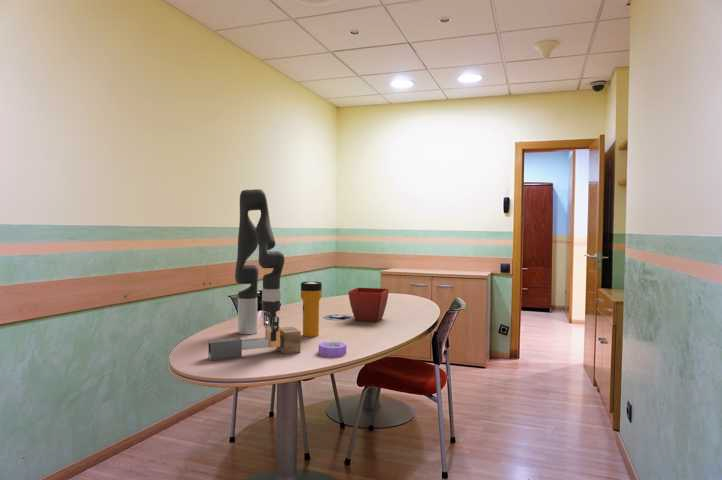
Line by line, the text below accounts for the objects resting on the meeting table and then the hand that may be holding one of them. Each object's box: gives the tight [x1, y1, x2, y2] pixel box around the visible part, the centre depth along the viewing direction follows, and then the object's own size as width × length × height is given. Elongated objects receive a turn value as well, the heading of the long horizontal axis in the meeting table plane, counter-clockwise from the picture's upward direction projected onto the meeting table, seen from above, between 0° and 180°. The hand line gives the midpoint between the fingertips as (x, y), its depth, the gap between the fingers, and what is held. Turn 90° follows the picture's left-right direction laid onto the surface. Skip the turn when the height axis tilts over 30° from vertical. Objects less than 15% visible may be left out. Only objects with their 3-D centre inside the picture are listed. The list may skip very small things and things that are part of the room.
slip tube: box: [241, 325, 282, 351], centre depth 205 cm, size 6×23×8 cm, turn 118°
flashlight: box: [300, 281, 323, 338], centre depth 240 cm, size 10×26×10 cm
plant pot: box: [348, 287, 390, 323], centre depth 282 cm, size 19×19×17 cm
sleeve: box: [207, 336, 243, 362], centre depth 198 cm, size 5×12×7 cm, turn 118°
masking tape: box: [318, 340, 348, 358], centre depth 208 cm, size 12×12×4 cm
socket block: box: [276, 326, 302, 355], centre depth 210 cm, size 10×7×9 cm
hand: (270, 339), depth 207 cm, fingers closed on slip tube, 6 cm apart
